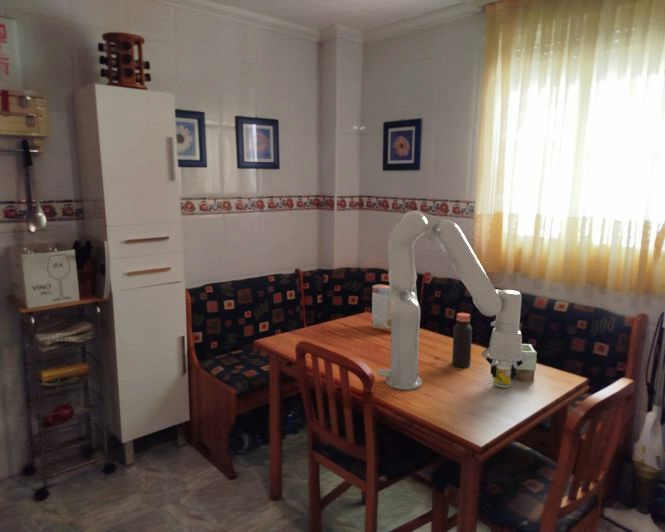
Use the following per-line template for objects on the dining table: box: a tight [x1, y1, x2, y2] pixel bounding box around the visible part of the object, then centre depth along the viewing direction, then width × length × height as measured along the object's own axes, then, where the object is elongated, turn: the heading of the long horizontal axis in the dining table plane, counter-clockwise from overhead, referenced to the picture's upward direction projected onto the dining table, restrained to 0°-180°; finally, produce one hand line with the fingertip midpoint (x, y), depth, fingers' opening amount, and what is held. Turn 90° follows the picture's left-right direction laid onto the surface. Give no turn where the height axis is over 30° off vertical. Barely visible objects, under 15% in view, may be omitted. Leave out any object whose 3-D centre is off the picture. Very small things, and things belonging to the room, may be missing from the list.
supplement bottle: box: [493, 360, 512, 389], centre depth 168 cm, size 5×5×10 cm
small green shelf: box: [510, 343, 538, 371], centre depth 177 cm, size 9×9×6 cm
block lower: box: [511, 369, 536, 383], centre depth 178 cm, size 9×9×4 cm
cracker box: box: [371, 283, 392, 333], centre depth 229 cm, size 14×6×21 cm, turn 46°
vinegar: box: [451, 312, 473, 368], centre depth 187 cm, size 7×7×20 cm
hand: (502, 376), depth 168 cm, fingers closed on supplement bottle, 5 cm apart
